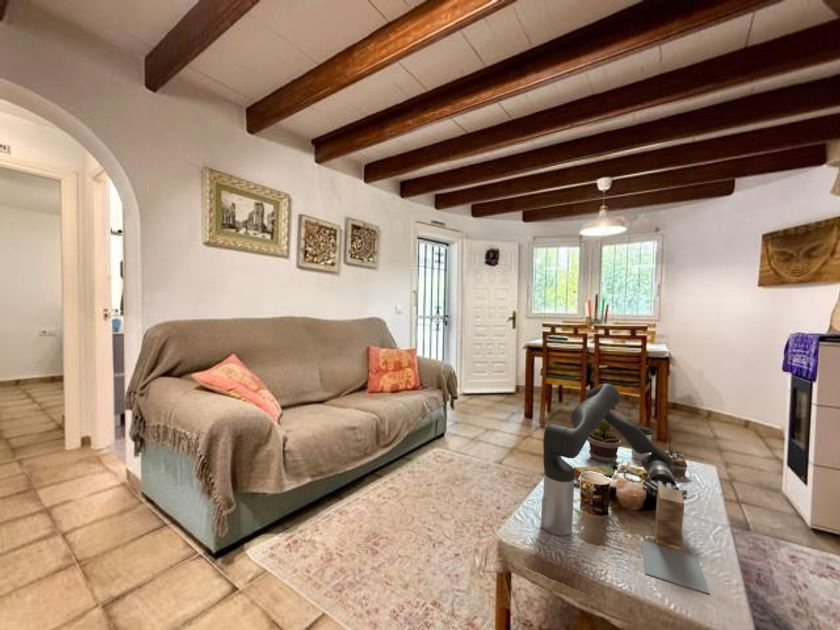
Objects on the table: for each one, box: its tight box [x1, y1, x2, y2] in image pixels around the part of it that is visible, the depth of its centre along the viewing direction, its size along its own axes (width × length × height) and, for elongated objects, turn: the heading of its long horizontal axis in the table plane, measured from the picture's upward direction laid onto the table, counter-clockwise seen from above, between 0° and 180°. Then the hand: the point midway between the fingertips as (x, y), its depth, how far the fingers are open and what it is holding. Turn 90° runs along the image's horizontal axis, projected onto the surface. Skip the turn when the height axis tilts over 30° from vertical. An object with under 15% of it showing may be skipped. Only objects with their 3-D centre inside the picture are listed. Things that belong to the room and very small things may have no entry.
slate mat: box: [640, 540, 711, 595], centre depth 104 cm, size 14×16×1 cm
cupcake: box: [663, 448, 688, 479], centre depth 162 cm, size 10×10×10 cm
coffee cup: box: [631, 424, 653, 461], centre depth 179 cm, size 9×9×15 cm
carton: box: [573, 466, 615, 479], centre depth 154 cm, size 8×16×4 cm, turn 97°
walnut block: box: [653, 486, 685, 551], centre depth 113 cm, size 6×6×16 cm
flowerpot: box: [586, 418, 623, 464], centre depth 175 cm, size 14×15×20 cm
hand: (668, 501), depth 115 cm, fingers closed
